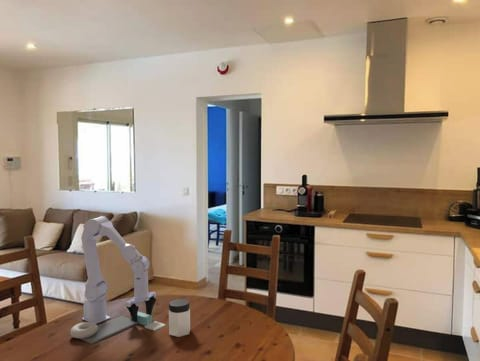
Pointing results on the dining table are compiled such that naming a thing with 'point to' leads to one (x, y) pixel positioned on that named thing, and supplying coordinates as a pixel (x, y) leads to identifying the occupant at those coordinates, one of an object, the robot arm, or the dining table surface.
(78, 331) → the donut
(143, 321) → the turner
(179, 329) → the jar
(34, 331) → the dining table surface
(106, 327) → the slate board
